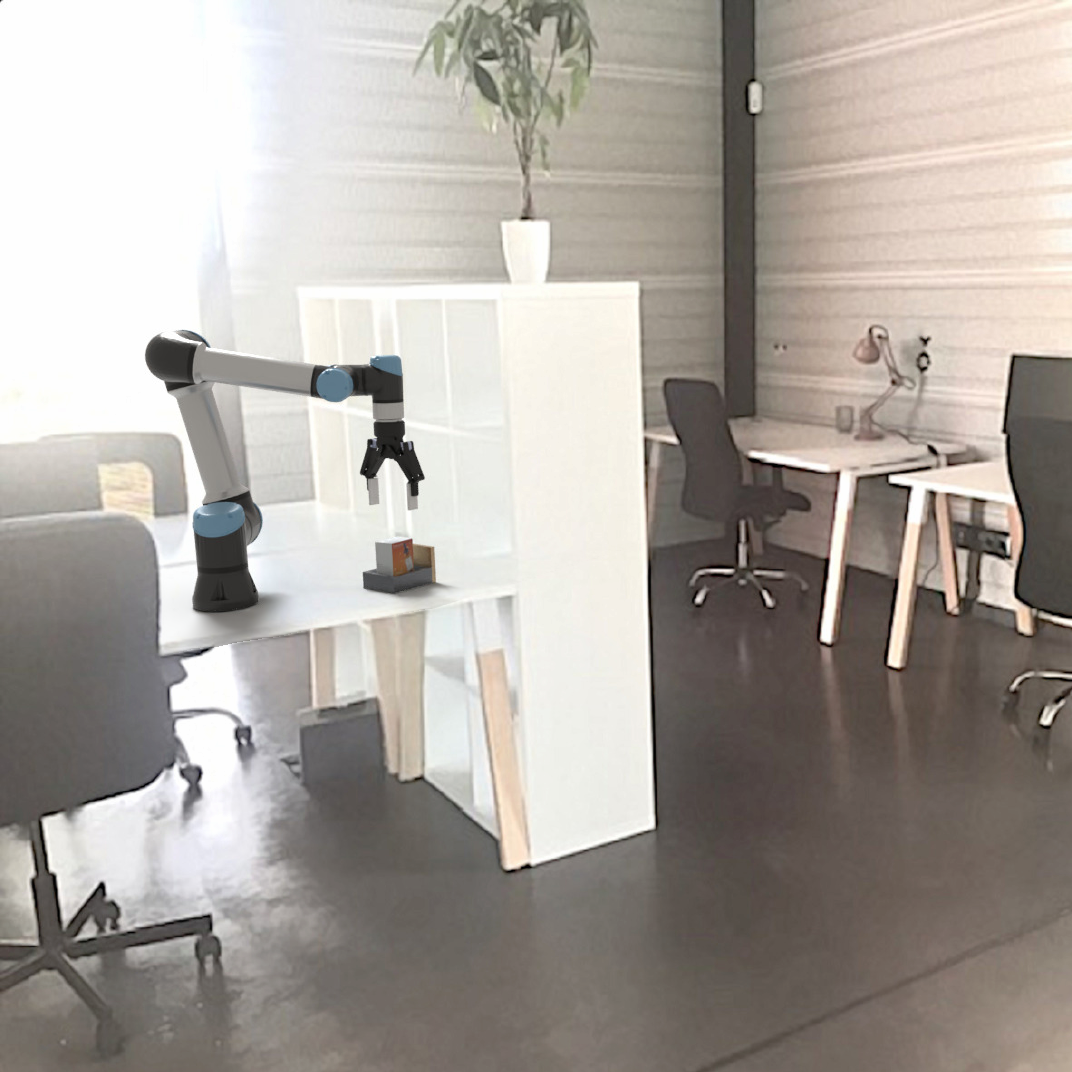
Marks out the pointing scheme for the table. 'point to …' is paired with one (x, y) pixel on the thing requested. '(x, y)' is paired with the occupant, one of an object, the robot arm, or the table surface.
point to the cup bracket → (406, 581)
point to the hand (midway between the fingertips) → (393, 507)
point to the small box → (394, 556)
